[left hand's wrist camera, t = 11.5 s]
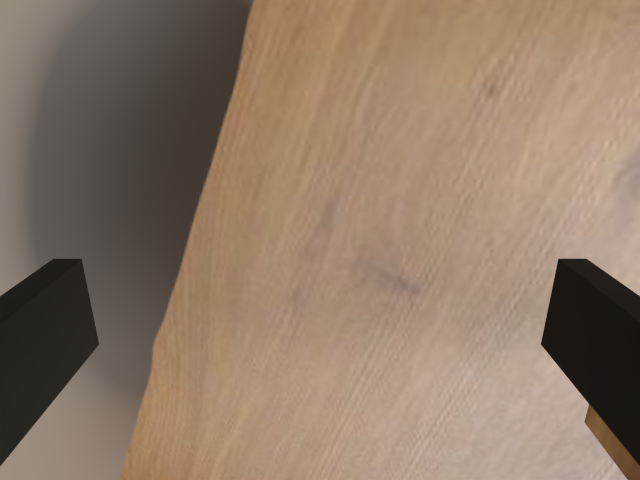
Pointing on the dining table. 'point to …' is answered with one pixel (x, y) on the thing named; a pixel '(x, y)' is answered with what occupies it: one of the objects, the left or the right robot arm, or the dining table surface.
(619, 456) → the bar
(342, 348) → the dining table surface
